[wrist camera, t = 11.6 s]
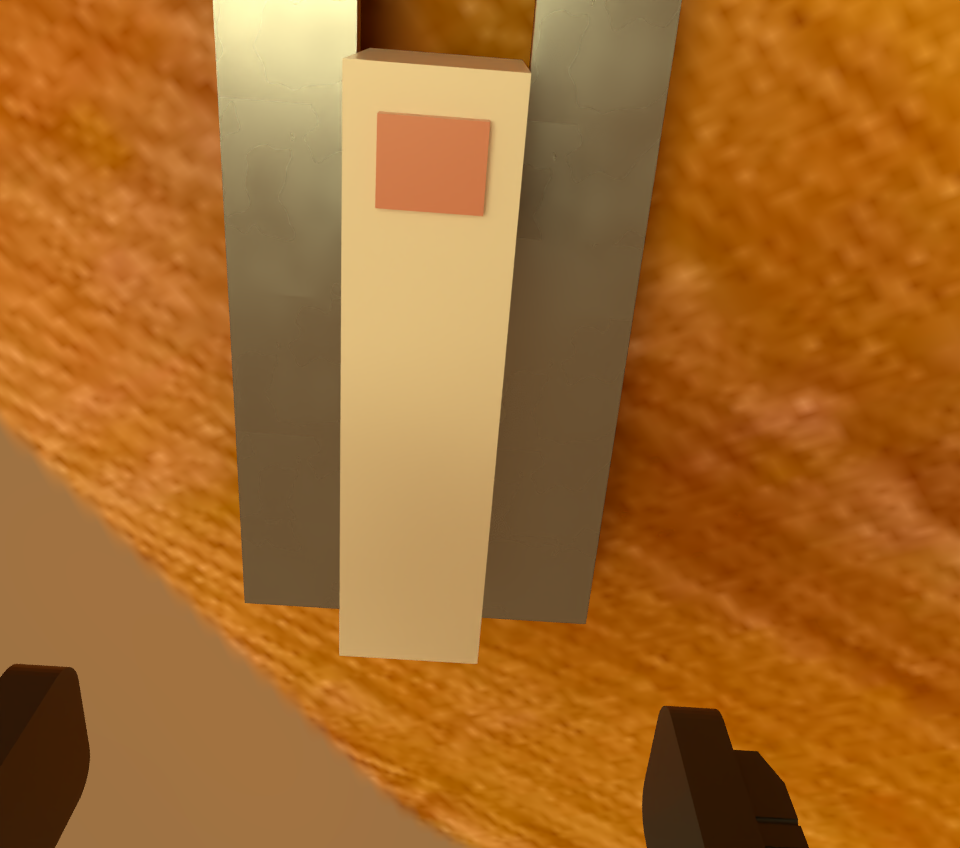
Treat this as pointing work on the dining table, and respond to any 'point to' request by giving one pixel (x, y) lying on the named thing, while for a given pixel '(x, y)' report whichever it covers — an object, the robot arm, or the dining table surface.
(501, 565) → the slotted board
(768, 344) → the dining table surface
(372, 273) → the cream rectangular block
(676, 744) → the robot arm
